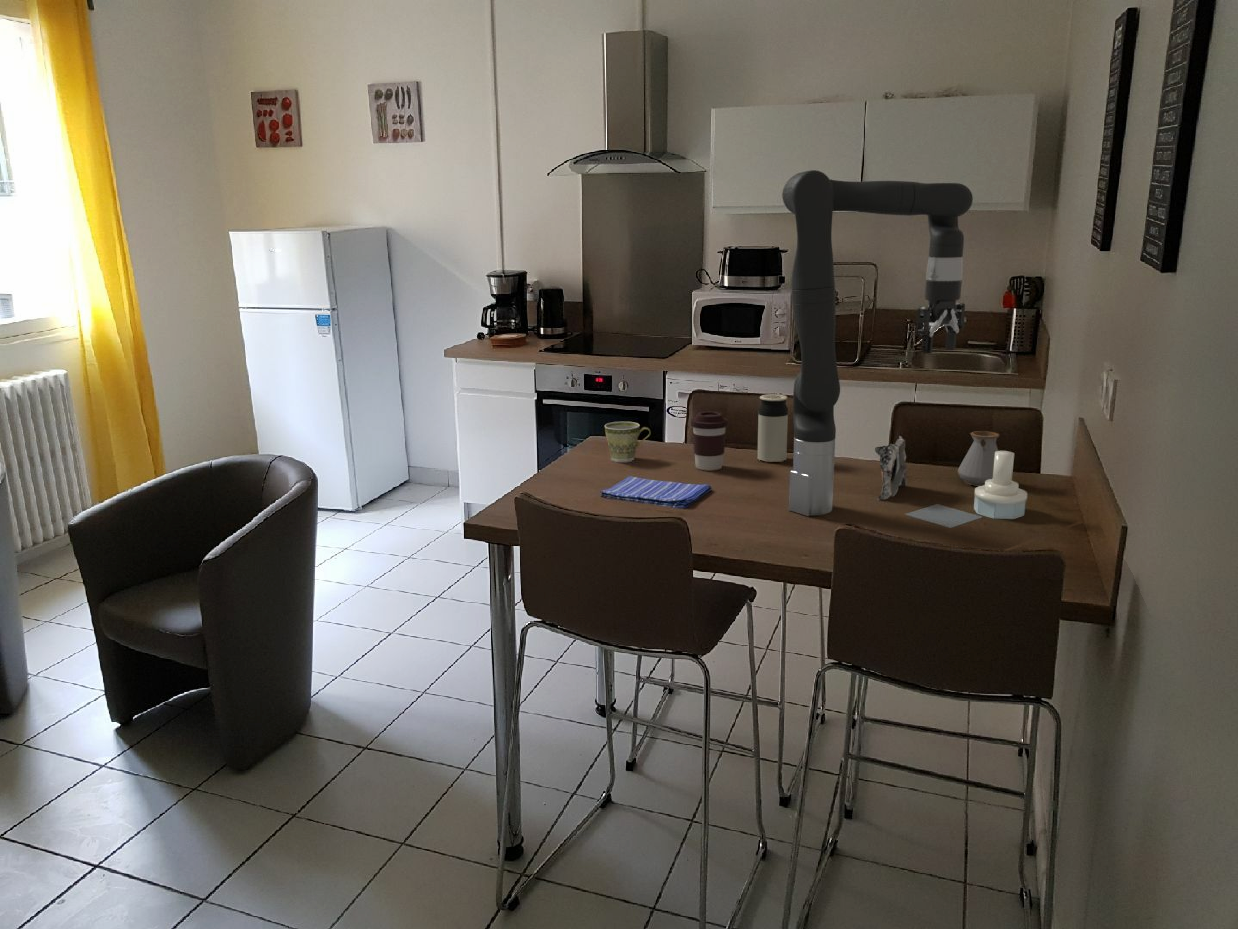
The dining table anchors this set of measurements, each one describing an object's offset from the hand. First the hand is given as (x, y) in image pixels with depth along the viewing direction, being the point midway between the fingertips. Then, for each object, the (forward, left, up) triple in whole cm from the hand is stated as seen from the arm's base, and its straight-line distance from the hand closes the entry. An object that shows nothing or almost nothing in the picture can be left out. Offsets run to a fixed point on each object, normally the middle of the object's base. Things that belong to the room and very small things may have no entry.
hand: (938, 351), depth 206 cm
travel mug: (+1, +52, -36) cm, 63 cm away
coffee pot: (+21, 0, -36) cm, 42 cm away
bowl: (+7, -14, -36) cm, 39 cm away
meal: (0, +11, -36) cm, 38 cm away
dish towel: (-44, +47, -37) cm, 74 cm away
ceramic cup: (-30, +78, -36) cm, 91 cm away
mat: (-5, -8, -36) cm, 37 cm away
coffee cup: (-18, +57, -36) cm, 70 cm away
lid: (+7, -14, -32) cm, 36 cm away
